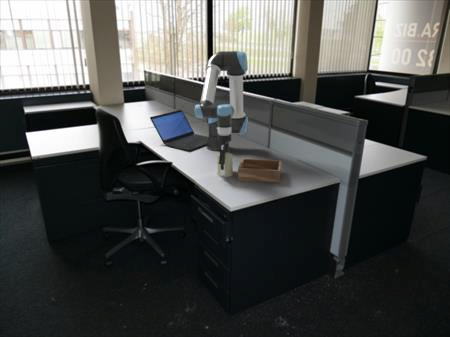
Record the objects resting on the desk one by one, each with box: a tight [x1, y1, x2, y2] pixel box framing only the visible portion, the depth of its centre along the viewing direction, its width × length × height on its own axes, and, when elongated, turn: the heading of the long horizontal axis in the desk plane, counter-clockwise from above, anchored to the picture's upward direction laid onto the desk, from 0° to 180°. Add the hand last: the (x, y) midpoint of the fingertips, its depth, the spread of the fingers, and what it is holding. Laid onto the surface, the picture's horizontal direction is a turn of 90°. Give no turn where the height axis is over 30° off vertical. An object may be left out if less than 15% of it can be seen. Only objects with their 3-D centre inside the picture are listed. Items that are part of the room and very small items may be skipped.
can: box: [216, 152, 234, 178], centre depth 196 cm, size 9×9×12 cm
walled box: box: [237, 157, 282, 184], centre depth 193 cm, size 16×22×7 cm
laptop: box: [149, 109, 209, 152], centre depth 254 cm, size 33×38×19 cm
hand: (224, 170), depth 197 cm, fingers open, 12 cm apart
